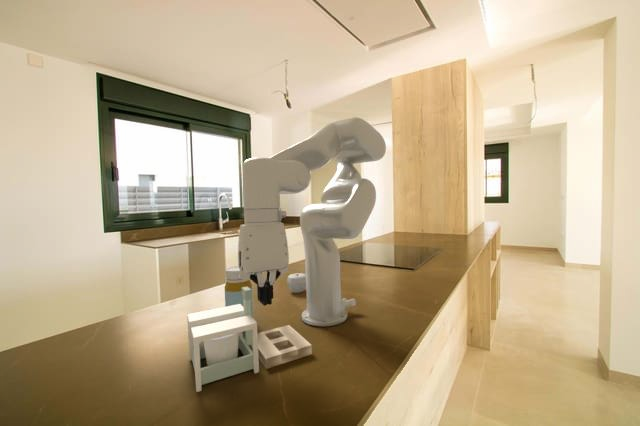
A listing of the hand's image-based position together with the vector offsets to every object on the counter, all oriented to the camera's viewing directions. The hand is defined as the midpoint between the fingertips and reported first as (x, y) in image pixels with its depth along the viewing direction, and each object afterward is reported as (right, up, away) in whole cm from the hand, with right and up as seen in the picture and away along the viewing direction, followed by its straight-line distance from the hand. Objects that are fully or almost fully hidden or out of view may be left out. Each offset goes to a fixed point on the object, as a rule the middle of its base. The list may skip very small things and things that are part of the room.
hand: (265, 303), depth 62 cm
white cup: (-8, -11, -4) cm, 14 cm away
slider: (-8, -11, -4) cm, 14 cm away
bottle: (-10, -11, +16) cm, 22 cm away
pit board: (+3, -11, +2) cm, 11 cm away
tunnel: (-8, -11, -4) cm, 14 cm away
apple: (+4, -9, +43) cm, 44 cm away
